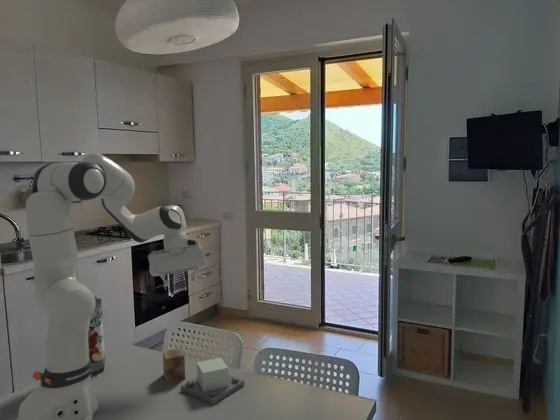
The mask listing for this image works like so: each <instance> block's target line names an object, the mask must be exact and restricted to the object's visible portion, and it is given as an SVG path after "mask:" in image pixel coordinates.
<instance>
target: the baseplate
mask: <svg viewBox="0 0 560 420" xmlns="http://www.w3.org/2000/svg"><path fill="white" fill-rule="evenodd" d="M196 376H197V377H195V378H193V379H191V380H188V381H186V383H184V384H182V385H181V386H180V391H181V392H183V393H185V394H187V395H190V396H193V397H194V398H197V399H200V400H201V401H204V402H207V403H208V404H211V405H215V404H216V403H218V402H219V401H221V400H223V399H224V398H226V397H228V396H230V395H231V394H232V393H234V392H235V391H237V390H238V389H241V388H243V386H245V379H241V378H239V376H232V375H230V373H229V367H228V365H227V363H226V362H225V361H224V360H223V358H222V357H217V358H211V359H207V360H203V361H197V362H196Z"/></svg>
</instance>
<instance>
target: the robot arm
mask: <svg viewBox="0 0 560 420" xmlns="http://www.w3.org/2000/svg"><path fill="white" fill-rule="evenodd" d="M31 190H32V194H31V195H29V196H28V198H27V199H26V202H25V222H26V230H27V235H28V240H29V242H28V243H29V247H30V252H31V256H32V262H33V279H34V280H33V281H34V283H33V284H34V298H35V302H36V304H37V306H39V308H40V309H41V310H43V311H44V312H45V313H46V314H47V317H48V318H47V319H48V327H47V333H46V337H45V340H44V352H45V366H46V367H45V368H44V370H43V372H40V371H39V370H36V371H34V372H33V373H32V375H31V376H32V379H35V380H36V381H40V383H39V384H38V385H37V387H35V388H34V390H33V391H32V392H31V393H30V394H29V395H28V396H27V397H26V398H25V399H24V400H23V401H22V402H21V403H20V405H19V408H18V412H17V418H16V419H15V420H93V419H94V417H93V416H94V414H95V412H97V411H98V408H99V402H98V399H97V397H96V394H95V391H94V388H93V387H94V386H93V381H92V377H93V375H92V367H91V360H90V358H89V345H88V331H89V324H90V318H91V315H92V314H93V312H94V310H95V305H96V302H95V298H94V297H95V296H94V294H93V293H92V291H91V290H90V289H89V287H87V286H86V285H85V284H82V283H81V282H79V281H78V278H77V275H76V274H77V273H76V267H77V258H78V256H79V253H78V247H77V241H76V236H75V232H74V231H75V230H74V225H73V221H72V216H71V213H70V210H71V205H72V202H79V201H90V200H93V199H96V198H98V197H101V205H102V207H103V208H104V210H105V211H106V212H107V214H109V216H111V217H112V218H113V220H115V222H117V223H118V224H119V225H120V227H121V228H122V229H124V230H125V232H126V233H127V235H128V236H129V238H131V239H132V240H133V241H135V242H137V243H140V244H141V243H145V242H146V241H149V240H151V239H153V238H155V237H158V236H160V235H163V249H159V250H152V251H151V252H150V253H149V254H148V255H147V259H148V260H147V261H148V262H149V265H148V266H149V269H148V271H149V274H150V275H151V276H152V277H158V276H159V277H160V278H161V280H162V281H163V285H164V287H168V286H170V281H169V280H168V279H166V275H171V274H177V273H182V272H183V273H184V272H188V271H192V272H193V274H192V275H190V281H191V282H197V281H196V277H197V275H198V272H199V270H200V269H201V270H203V269H205V268H206V267H207V266H208V264H207V258H206V255H205V252H204V249H203V248H202V245H201V243H200V241H199V240H198V239H190V238H188V235H187V221H186V217H185V213H184V211H183V209H182V207H180V206H178V205H176V204H174V205H173V204H171V205H170V204H169V205H160V206H158V207H155V208H152V209H150V210H148V211H144V212H142V213H138V214H133V213H132V212H131V211H130V210H129V209H128V208H127V207H126V206H125V205H127V204H129V202H130V201H131V200H132V198H133V196H134V194H135V191H136V184H135V180H134V178H133V176H132V175H131V174H130V173H129V172H128V171H126V169H124V168H123V167H122V166H121V165H119V164H118V163H116V162H115V161H113V160H112V159H111V158H109V157H107V156H105V155H104V154H102V153H98V152H92V153H89V154H87V155H85V156H84V157H83V158H81V160H79V162H73V161H72V162H70V161H62V162H57V163H49V164H45V165H43V166H41V167H39V168H38V169H36V170H35V173H34V174H33V177H32V189H31Z"/></svg>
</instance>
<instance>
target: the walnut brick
mask: <svg viewBox="0 0 560 420" xmlns="http://www.w3.org/2000/svg"><path fill="white" fill-rule="evenodd" d="M185 363H186V362H185V354H184V352H183V350H182V348H178V349H177V348H176V349H172V350H167V351H162V367H163V370H162V371H163V376H164V377H163V378H164V380H165V382H166V383H171V382H177V381H181V380H186V366H185V365H186V364H185Z"/></svg>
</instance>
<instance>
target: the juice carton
mask: <svg viewBox="0 0 560 420" xmlns="http://www.w3.org/2000/svg"><path fill="white" fill-rule="evenodd" d="M94 298H95V302H96V305H95V310H94V312H93V314H92V315H91V318H90V324H89V331H88V345H89V358H90V360H91V367H92V376H93V375H96V374H99V373H101V372H104V371H105V366H106V365H105V364H106V351H105V335H104V318H103V315H104V314H103V304H102V299H101V298H99V297H97V296H94Z"/></svg>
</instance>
